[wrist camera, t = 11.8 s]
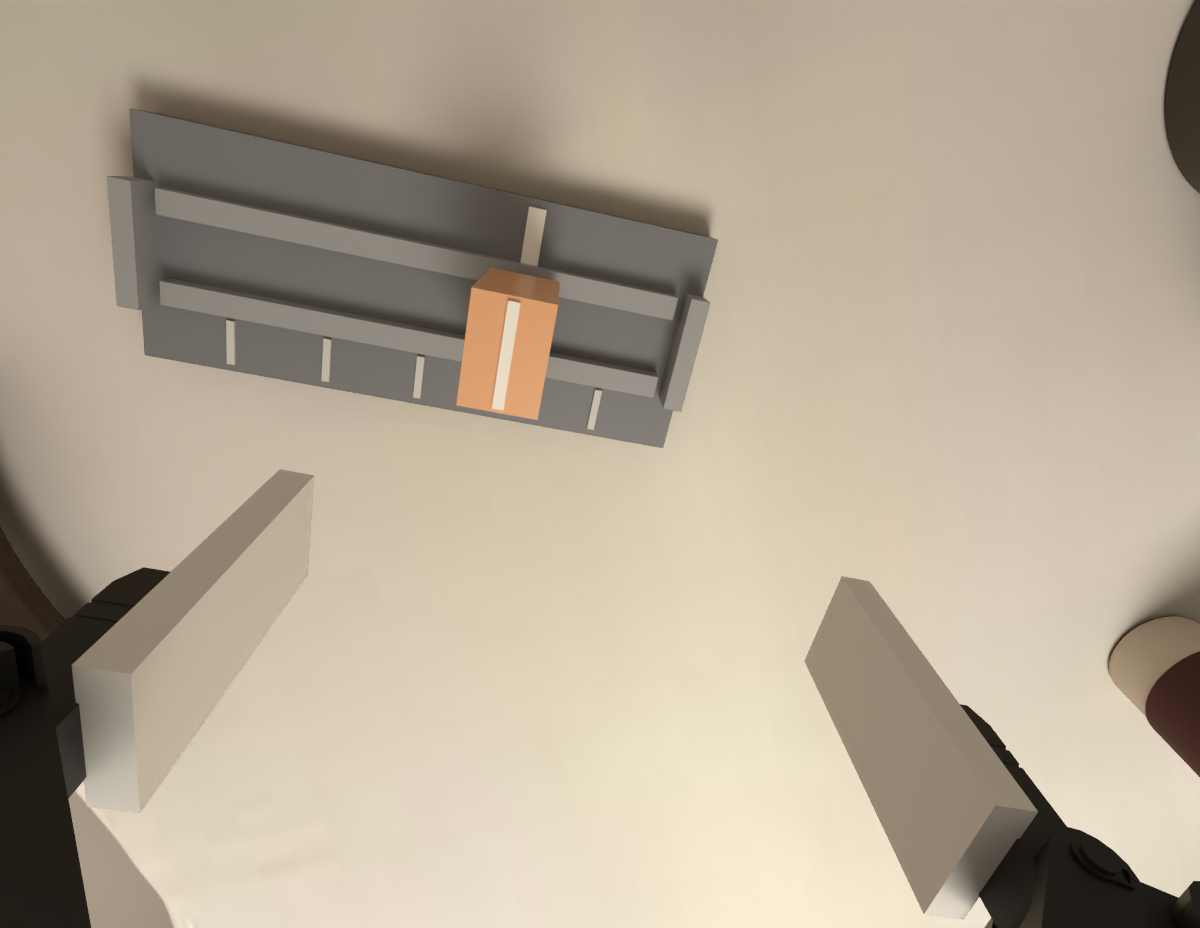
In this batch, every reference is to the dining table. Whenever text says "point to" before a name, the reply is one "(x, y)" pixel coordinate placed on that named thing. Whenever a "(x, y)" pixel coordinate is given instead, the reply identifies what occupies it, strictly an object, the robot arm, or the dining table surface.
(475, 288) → the fader
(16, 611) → the dark brown bone
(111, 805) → the robot arm
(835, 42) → the dining table surface
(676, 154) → the dining table surface
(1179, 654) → the coffee cup
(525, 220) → the grey slider track
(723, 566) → the dining table surface
